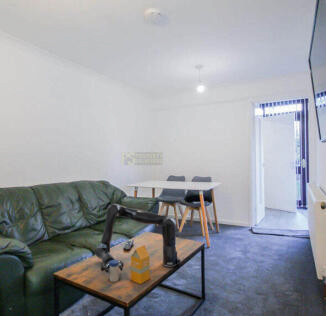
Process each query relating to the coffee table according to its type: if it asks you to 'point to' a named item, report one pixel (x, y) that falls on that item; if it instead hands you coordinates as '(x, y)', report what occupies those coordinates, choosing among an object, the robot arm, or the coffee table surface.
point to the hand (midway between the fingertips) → (115, 270)
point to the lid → (113, 263)
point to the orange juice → (140, 265)
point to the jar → (114, 273)
